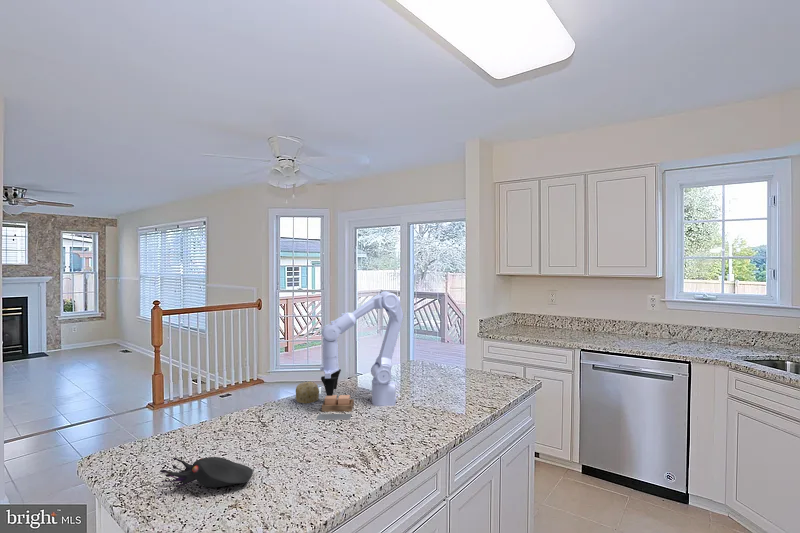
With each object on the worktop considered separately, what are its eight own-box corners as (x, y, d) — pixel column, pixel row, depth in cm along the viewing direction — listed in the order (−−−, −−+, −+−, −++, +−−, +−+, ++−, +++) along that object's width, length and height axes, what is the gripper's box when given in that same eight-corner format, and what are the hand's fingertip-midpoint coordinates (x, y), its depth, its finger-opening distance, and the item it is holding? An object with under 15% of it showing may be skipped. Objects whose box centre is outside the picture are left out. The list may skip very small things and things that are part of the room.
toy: (166, 472, 112) (181, 437, 112) (241, 499, 114) (256, 464, 114) (147, 493, 102) (165, 454, 102) (231, 522, 104) (247, 484, 104)
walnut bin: (353, 406, 164) (353, 399, 163) (351, 413, 157) (351, 405, 156) (325, 407, 164) (325, 399, 164) (321, 413, 157) (321, 405, 157)
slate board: (351, 416, 154) (351, 413, 154) (349, 421, 149) (349, 419, 148) (319, 416, 154) (319, 414, 154) (315, 422, 149) (315, 419, 149)
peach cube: (350, 406, 162) (350, 395, 162) (348, 410, 158) (348, 398, 158) (339, 406, 162) (339, 395, 162) (338, 410, 158) (337, 398, 158)
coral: (316, 396, 176) (316, 378, 176) (321, 403, 168) (321, 384, 167) (294, 399, 173) (293, 381, 173) (297, 407, 164) (297, 387, 164)
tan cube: (337, 406, 162) (337, 395, 162) (335, 410, 158) (335, 398, 158) (326, 406, 162) (326, 395, 162) (324, 410, 158) (324, 398, 158)
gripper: (324, 352, 167) (324, 386, 167) (316, 361, 153) (317, 398, 153) (341, 351, 167) (342, 386, 167) (335, 360, 152) (336, 398, 153)
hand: (331, 392), depth 160 cm, fingers open, 7 cm apart
